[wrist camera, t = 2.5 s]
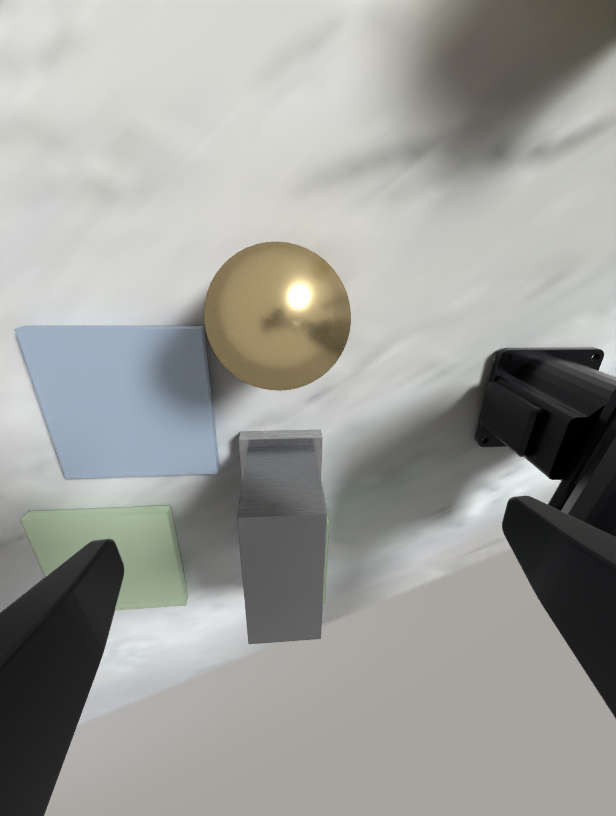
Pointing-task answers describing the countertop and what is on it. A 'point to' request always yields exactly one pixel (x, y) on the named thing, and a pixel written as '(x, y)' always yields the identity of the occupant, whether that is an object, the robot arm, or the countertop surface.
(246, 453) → the grey block with base
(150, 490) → the countertop surface
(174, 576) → the sage mat
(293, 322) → the gold metal cylinder
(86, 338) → the slate mat
